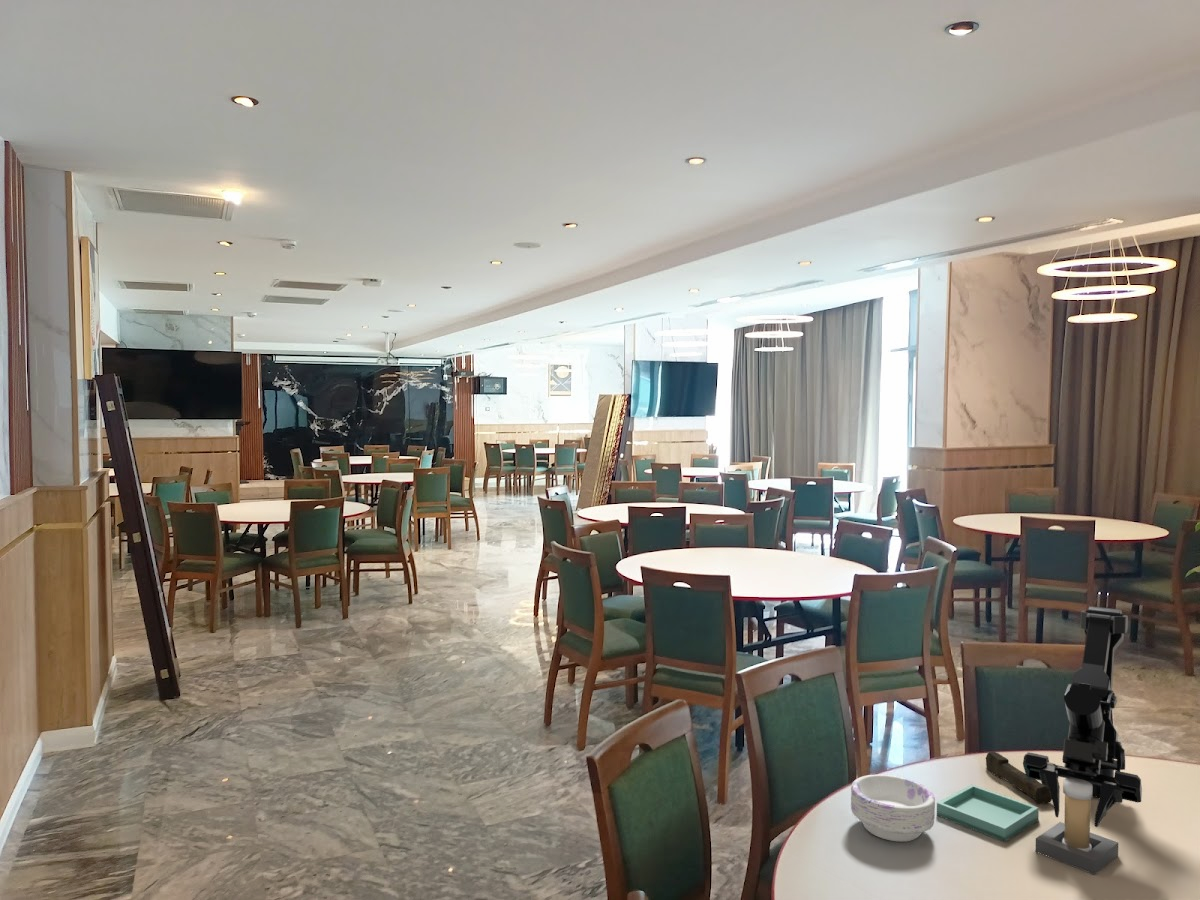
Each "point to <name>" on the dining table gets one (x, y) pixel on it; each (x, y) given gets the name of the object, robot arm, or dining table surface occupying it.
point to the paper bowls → (892, 806)
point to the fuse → (1077, 813)
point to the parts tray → (988, 812)
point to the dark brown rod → (1017, 778)
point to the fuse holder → (1077, 850)
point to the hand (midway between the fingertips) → (1076, 821)
